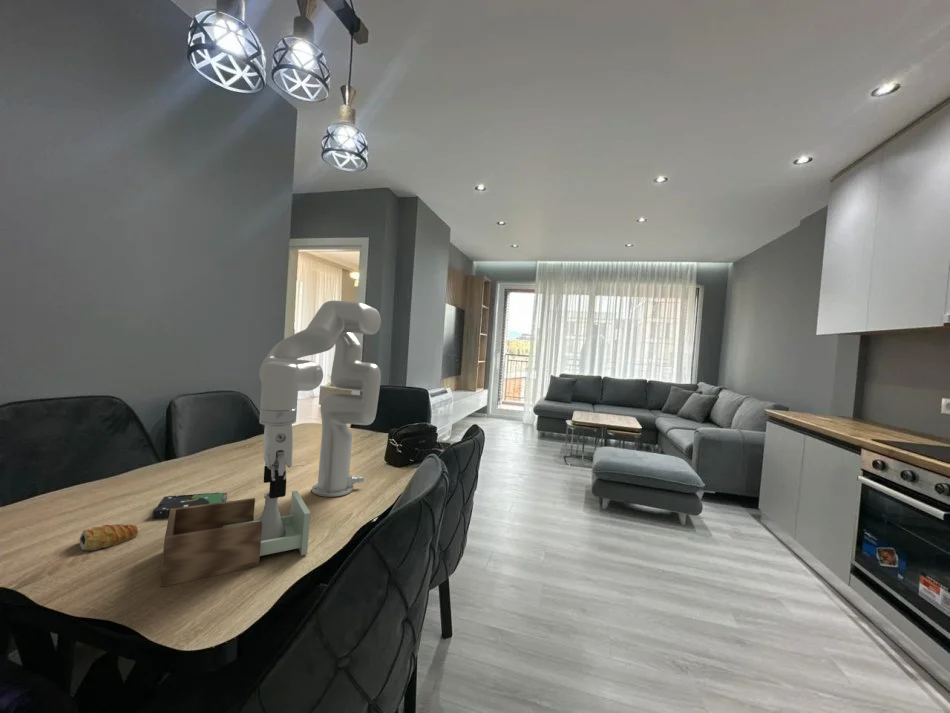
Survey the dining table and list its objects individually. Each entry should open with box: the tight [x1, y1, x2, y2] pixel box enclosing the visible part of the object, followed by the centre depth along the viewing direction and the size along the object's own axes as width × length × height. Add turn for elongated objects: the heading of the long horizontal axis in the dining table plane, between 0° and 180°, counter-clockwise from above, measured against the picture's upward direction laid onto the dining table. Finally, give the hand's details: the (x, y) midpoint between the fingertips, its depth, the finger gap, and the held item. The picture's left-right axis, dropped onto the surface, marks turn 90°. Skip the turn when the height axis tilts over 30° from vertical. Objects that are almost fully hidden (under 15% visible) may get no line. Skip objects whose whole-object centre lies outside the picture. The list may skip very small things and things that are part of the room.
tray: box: [223, 490, 311, 557], centre depth 88 cm, size 16×15×9 cm
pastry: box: [79, 523, 139, 552], centre depth 85 cm, size 9×7×4 cm
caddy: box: [160, 497, 262, 588], centre depth 82 cm, size 16×15×9 cm
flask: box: [258, 492, 286, 541], centre depth 88 cm, size 7×7×10 cm
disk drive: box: [152, 492, 228, 520], centre depth 105 cm, size 10×3×15 cm
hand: (274, 489), depth 89 cm, fingers open, 9 cm apart
